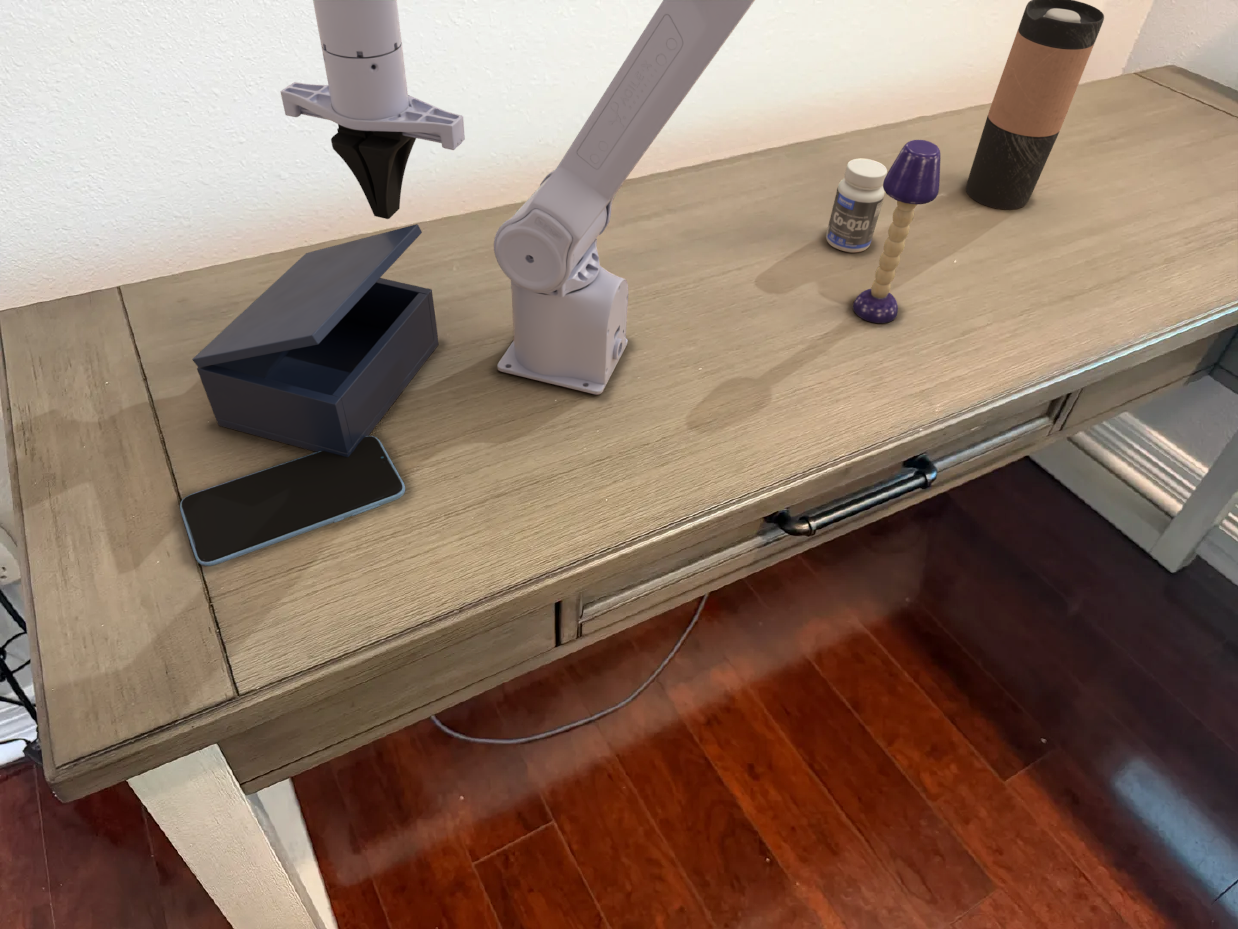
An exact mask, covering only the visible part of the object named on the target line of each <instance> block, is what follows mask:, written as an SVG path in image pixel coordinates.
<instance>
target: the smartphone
mask: <svg viewBox="0 0 1238 929" xmlns="http://www.w3.org/2000/svg"><path fill="white" fill-rule="evenodd" d="M405 492H406V486H405V483H404V481H403V479H402V478H401V476H400V474H399V472H398V470H397V468H396V466H395V465H394V462H393V461H392V459H391V457H390V456H389V454H388V452H387V450H386V448H385V447H384V445H383V443H382V441H381V440H380V439H379V438H378V437H376V436H373V435H369V436H365V437H364V438H363V439H362V440H361V441H360V443H359V444H358V445H357V447H356V448H355V449H354V451H353V452H352V453H351V455H350V456H349V457H345V456H341V455H337V454H334V453H330V452H326V451H319V452H312V453H311V454H307V455H304V456H302V457H301V456H300V457H298V458H295V459H292V460H289V461H286V462H283V463H280V464H277V465H274V466H271V467H268V468H265V469H262V470H259V471H255V472H254V473H250V474H246V475H244V476H240V477H238V478H235V479H232V480H229V481H226V482H224V483H219V484H217V485H214V486H211V487H207V488H205V489H202V490H199V491H196V492H193V493H191V494H188V495H187V496H185V497H184V498H182V499H181V501H180V503H179V511H180V514H181V517H182V520H183V523H184V527H185V530H186V533H187V537H188V539H189V542H190V545H191V549H192V552H193V555H194V558H195V561H197V563H198V564H199V565H201V566H203V567H213V566H215V565H220V564H222V563H225V562H228V561H230V560H233V559H235V558H238V557H241V556H244V555H247V554H250V553H252V552H255V551H258V550H261V549H263V548H266V547H269V546H273V545H275V544H277V543H280V542H283V541H285V540H288V539H292V538H294V537H297V536H299V535H302V534H306V533H308V532H310V531H314V530H316V529H319V528H322V527H324V526H327V525H330V524H333V523H334V524H336V523H338V522H341V521H343V520H345V519H347V518H350V517H355V516H357V515H361V514H362V513H366V512H368V511H371V510H373V509H376V508H380V507H381V506H383V505H386V504H389V503H391V502H394V501H396V500H399V499H400V498H401V497H403V496H404V495H405Z"/></svg>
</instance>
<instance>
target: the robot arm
mask: <svg viewBox="0 0 1238 929" xmlns="http://www.w3.org/2000/svg"><path fill="white" fill-rule="evenodd" d="M755 1H756V0H662V1H661V3H660V4H659V6H658V7H657V9H656V11H655V12H654V14H653V15H652V17H651V18H650V20H649V22H648V24H647V25H646V27H645V28H644V30H643V31H642V33H641V34H640V36H639V37H638V39H637V41H636V42H635V44H634V45H633V47H632V49H631V50H630V52H629V53H628V55H627V56H626V58H625V60H624V61H623V63H622V64H621V66H620V68H619V69H618V71H617V72H616V73H615V75H614V77H613V78H612V80H611V82H610V83H609V85H608V87H607V88H606V90H605V91H604V93H603V94H602V96H601V97H600V98H599V100H598V103H597V104H596V105H595V107H594V108H593V110H592V111H591V113H590V114H589V116H588V117H587V119H586V121H585V123H584V124H583V126H582V127H581V128H580V131H578V134H577V135H576V136H575V138H574V140H573V141H572V143H571V145H570V146H569V148H568V149H567V151H566V152H565V154H564V155H563V157H562V158H561V160H560V162H559V163H558V165H557V166H556V168H555V169H553V170H551V171H550V172H549V173H547V175H546V176H545V177H544V178H543V180H542V181H541V183H540V184H539V186H538V187H537V189H536V190H534V192H533V193H532V194H531V195H530V197H528V198H527V199H526V201H525V202H524V203H523V204H522V205H521V206H520V207H519V208H518V210H516V212H514V214H513V215H512V216H511V217H510V218H509V219H507V220H505V221H504V222H503V223H502V224H501V225H500V226H499V227H498V229H497V231H496V232H495V236H494V237H493V238H494V240H493V252H494V256H495V259H496V262H497V264H498V266H499V268H500V270H501V271H502V272H503V273H504V275H505V276H506V277H507V278H508V280H510V288H511V291H510V292H511V309H512V310H511V311H512V328H513V329H512V330H513V331H512V332H513V339H512V340H513V341H512V342H511V343H510V345H509V346H508V348H507V349H506V351H505V352H504V354H503V355H502V357H501V358H500V360H499V361H498V363H497V366H496V368H497V370H498V371H499V372H502V373H505V374H510V375H513V376H518V377H521V378H527V379H531V380H534V381H539V382H542V383H547V384H552V385H555V386H560V387H562V388H566V389H572V390H576V391H579V392H584V393H588V394H592V395H600V394H602V393H603V392H604V391H605V388H606V387H607V384H608V382H609V381H610V378H611V377H612V374H613V372H614V371H615V369H616V367H617V364H618V363H619V361H620V359H621V357H622V356H623V354H624V351H625V350H626V348H627V346H628V338H627V324H628V310H629V309H628V307H629V283H628V281H627V279H626V278H624V277H621V276H620V275H619V276H618V275H616V274H614V273H612V272H610V271H608V270H607V269H606V268H604V267H602V265H600V256H599V251H598V248H597V246H598V245H597V244H598V237H600V236H601V234H603V233H604V231H605V230H606V229H607V227H608V225H609V223H610V221H611V217H612V208H613V207H612V205H613V201H614V199H615V197H616V195H617V193H618V192H619V191H620V190H621V188H622V187H623V184H624V182H625V181H626V180H627V179H628V177H629V175H630V174H631V173H632V172H633V170H634V169H635V167H636V166H637V165H638V163H639V162H640V160H641V159H642V157H643V156H644V155H645V154H646V152H647V150H648V149H649V148H650V147H651V145H652V144H653V142H654V141H655V140H656V138H657V137H658V136H659V134H660V133H661V132H662V130H663V129H664V127H665V126H666V124H667V123H668V122H669V120H670V119H671V117H672V116H673V115H674V113H675V112H676V111H677V109H678V108H679V107H680V105H681V104H682V102H684V100H685V99H686V97H687V95H688V94H689V92H690V91H691V90H692V89H693V87H694V85H695V84H696V83H697V81H698V80H699V79H700V77H701V76H702V75H703V73H704V72H705V70H706V69H707V68H708V66H709V65H710V63H711V62H712V61H713V59H714V58H715V57H716V55H717V54H718V52H719V51H720V49H721V48H722V47H723V45H724V44H725V42H726V41H727V40H728V39H729V37H730V36H731V35H732V33H733V31H734V30H735V29H736V28H737V26H738V24H740V22H741V20H742V19H743V18H744V17H745V15H746V13H747V12H748V11H749V9H750V8H751V7H752V5H753V4H754V2H755ZM312 2H313V3H312V4H313V8H314V14H315V19H316V25H317V30H318V31H317V32H318V36H319V42H320V47H321V52H322V57H323V63H324V69H325V74H326V79H327V84H315V83H314V84H313V83H302V82H297V81H293V82H292V83H290V84H289V85H288V86H286V87H285V88H283V89H282V90H280V96H281V101H282V105H283V111H284V115H285V116H287V117H292V118H298V117H301V115H302V116H308V117H313V118H317V119H321V120H326V121H327V120H328V121H331V122H333V123H335V124H337V126H338V128H337V133H335V134H334V135H333V136H332V137H331V138H330V142H331V147H332V150H333V151H334V152H335V153H336V154H337V155H338V156H339V157H340V158H341V159H342V160H343V162H344V163H345V164H346V166H347V167H348V168H349V170H350V171H351V173H352V174H353V175H354V177H355V179H356V180H357V183H358V184H359V186H360V188H361V190H362V193H363V194H364V196H365V199H366V200H367V202H368V206H369V207H370V209H371V212H372V215H373V216H374V217H376V218H381V219H385V220H390V219H391V218H392V217H393V216H394V215H395V214H396V213H397V212H398V211H399V210H400V208H401V206H400V205H401V196H402V195H401V194H402V186H403V182H404V176H405V172H406V167H407V164H408V161H409V159H410V158H409V157H410V155H411V152H412V150H413V147H414V145H415V142H416V140H417V139H419V140H424V141H429V142H433V143H438V144H441V147H442V149H446V150H451V151H455V150H456V149H457V148H458V147H459V146H460V145H461V144H462V143H463V142H464V141H465V140H466V136H465V123H464V122H465V120H464V115H463V114H457V113H453V112H450V111H447V110H444V109H442V108H439V107H437V106H435V105H432V104H430V103H428V102H425V101H424V100H421V99H419V98H416V97H414V96H412V95H409V93H408V91H409V90H408V82H407V74H406V67H405V66H406V64H405V58H404V57H405V56H404V48H403V42H402V32H401V24H400V15H399V8H398V1H397V0H312Z"/></svg>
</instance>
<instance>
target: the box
mask: <svg viewBox="0 0 1238 929" xmlns="http://www.w3.org/2000/svg"><path fill="white" fill-rule="evenodd" d="M434 303H435V302H434V294H433V289H431V288H426V287H423V286H418V285H413V284H409V283H405V282H402V281H401V282H400V281H398V280H397V281H396V280H392V279H387V278H384V277H380V278H379V280H378V281H377V282H376V283H375V284H374V285H373V286H372V287H371V288H370V289H369V290H368V291H367V292H366V294H365V295H364V296H363V297H362V298H361V299H360V300H359V301H358V302H357V303H356V304H355V305H354V306H353V307H352V309H351V310H350V311H349V312H348V313H347V314H346V315H345V316H344V317H343V318H342V319H341V320H340V321H339V323H338V324H337V325H336V326H335V327H334V328H333V329H332V330H331V331H330V332H329V333H328V334H327V335H326V337H325V338H324V339H323V340H322V341H321V342H320V343H319V344H318V345H313V346H308V347H302V348H297V349H292V350H287V351H282V352H276V353H271V354H266V355H261V356H256V357H250V358H245V359H240V360H235V361H230V362H224V363H219V364H214V365H209V366H204V367H198V366H197V368H196V370H197V373H198V376H199V378H200V382H201V384H202V386H203V388H204V392H205V394H206V397H207V399H208V402H209V405H210V407H211V410H212V412H213V415H214V418H215V420H216V423H217V425H218V426H220V427H222V428H223V427H224V428H228V429H230V430H235V431H237V432H242V433H245V434H249V435H253V436H257V437H259V438H264V439H267V440H271V441H273V442H278V443H282V444H285V445H289V446H292V447H297V448H301V449H304V450H308V451H311V452H314V453H316V452H319V451H326V452H330V453H334V454H337V455H341V456H345V457H349V456H350V455H351V453H352V452H353V451H354V449H355V448H356V447H357V445H358V444H359V443H360V441H361V440H362V439H363V438H364V437H365V436H370V434H371V433H372V432H373V430H375V428H376V426H377V425H378V424H379V423H380V422H381V420H382V419H383V418H384V416H385V415H386V414H387V412H388V411H389V410H390V409H391V407H393V404H394V403H395V402H396V401H397V399H398V398H399V397H400V395H401V394H402V393H403V391H404V390H405V389H406V387H407V386H408V385H409V384H410V382H411V381H412V380H413V378H414V377H415V376H416V374H418V372H419V371H420V369H421V368H422V367H423V366H424V364H425V363H426V361H427V360H428V359H429V358H430V356H431V355H432V354H433V352H434V351H435V350H436V348H437V347H438V346H439V335H438V327H437V319H436V318H437V317H436V312H435V304H434Z"/></svg>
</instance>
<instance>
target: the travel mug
mask: <svg viewBox="0 0 1238 929" xmlns="http://www.w3.org/2000/svg"><path fill="white" fill-rule="evenodd" d="M1104 14H1105V13H1103V11H1101V10H1100V9H1098V8H1097V7H1096V6H1093V5H1091V4H1088V3H1085V2H1082V1H1079V0H1029V1H1028V2H1027V4H1026V5H1025V9H1024V11H1023V14H1022V17H1021V19H1020V22H1019V25H1018V28H1017V31H1016V34H1015V37H1014V39H1013V42H1012V45H1011V47H1010V51H1009V54H1008V56H1007V59H1006V62H1005V65H1004V68H1003V70H1002V73H1001V76H1000V79H999V81H998V85H997V88H996V90H995V93H994V96H993V99H992V101H991V105H990V107H989V109H988V114H987V116H986V119H985V122H984V126H983V129H982V133H981V135H980V139H979V142H978V145H977V147H976V148H977V149H976V152H975V155H974V157H973V161H972V165H971V168H970V171H969V175H968V177H967V180H966V185H965V191H966V194H967V195H968V196H969V198H970V199H972V200H974V201H975V202H976V203H979V204H980V205H983V206H986V207H989V208H993V209H999V210H1018V209H1021V208H1023V207H1025V206H1027V204H1028V203H1029V201H1030V199H1031V197H1032V194H1033V193H1034V190H1035V188H1036V186H1037V184H1038V181H1039V179H1040V177H1041V174H1042V172H1043V170H1044V168H1045V166H1046V163H1047V162H1048V159H1049V157H1050V155H1051V152H1052V149H1053V147H1054V145H1055V143H1056V141H1057V138H1058V136H1059V134H1060V131H1061V130H1062V126H1063V124H1064V123H1065V120H1066V117H1067V114H1068V112H1069V109H1070V106H1071V104H1072V101H1073V99H1074V96H1075V94H1076V92H1077V89H1078V86H1079V84H1080V81H1081V79H1082V77H1083V74H1084V71H1085V69H1086V66H1087V63H1088V62H1089V59H1090V56H1091V53H1092V51H1093V49H1094V46H1095V43H1096V41H1097V38H1098V36H1099V33H1100V30H1101V28H1102V26H1103V23H1104V21H1105V15H1104Z"/></svg>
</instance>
